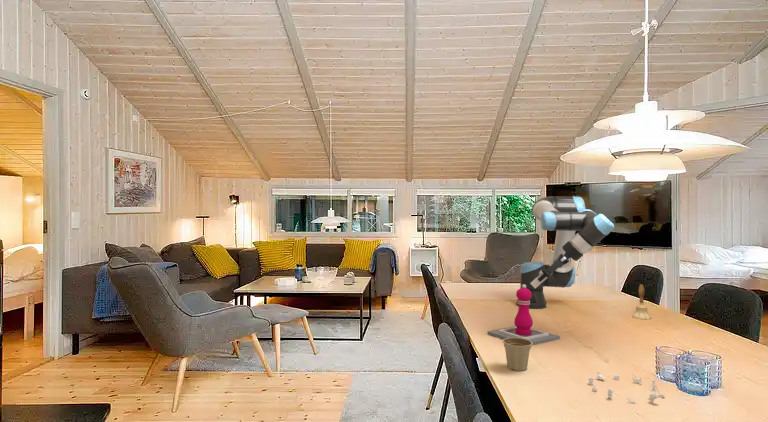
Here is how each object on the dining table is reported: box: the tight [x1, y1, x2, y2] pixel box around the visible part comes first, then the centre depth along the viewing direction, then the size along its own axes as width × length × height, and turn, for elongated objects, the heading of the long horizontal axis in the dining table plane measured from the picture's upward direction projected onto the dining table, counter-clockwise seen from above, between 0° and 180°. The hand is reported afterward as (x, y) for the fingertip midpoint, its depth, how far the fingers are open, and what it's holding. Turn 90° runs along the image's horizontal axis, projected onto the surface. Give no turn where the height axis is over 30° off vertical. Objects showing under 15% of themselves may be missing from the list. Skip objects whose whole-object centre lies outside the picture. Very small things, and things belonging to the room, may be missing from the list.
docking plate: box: [487, 325, 561, 347], centre depth 189 cm, size 20×20×2 cm
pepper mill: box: [513, 284, 534, 335], centre depth 189 cm, size 7×7×20 cm
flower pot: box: [502, 338, 533, 372], centre depth 152 cm, size 9×9×9 cm
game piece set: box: [587, 371, 666, 405], centre depth 134 cm, size 19×20×4 cm
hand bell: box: [631, 283, 652, 320], centre depth 224 cm, size 8×8×16 cm
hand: (535, 283), depth 186 cm, fingers open, 13 cm apart
